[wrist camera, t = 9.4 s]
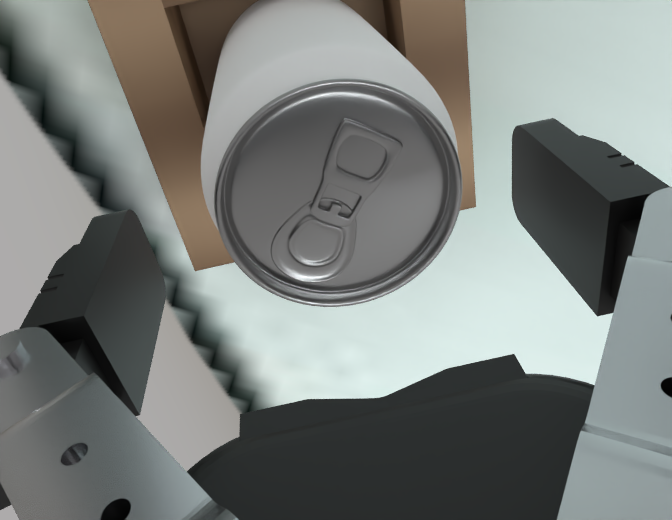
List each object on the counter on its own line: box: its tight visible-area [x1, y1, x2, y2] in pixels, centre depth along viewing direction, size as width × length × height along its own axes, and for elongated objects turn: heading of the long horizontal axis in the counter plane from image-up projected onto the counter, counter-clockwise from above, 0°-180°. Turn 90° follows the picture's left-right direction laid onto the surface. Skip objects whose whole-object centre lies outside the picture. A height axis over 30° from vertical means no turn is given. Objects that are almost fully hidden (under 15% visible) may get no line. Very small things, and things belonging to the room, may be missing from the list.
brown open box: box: [88, 0, 476, 271], centre depth 21 cm, size 12×12×4 cm
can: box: [201, 0, 462, 307], centre depth 17 cm, size 6×6×12 cm
